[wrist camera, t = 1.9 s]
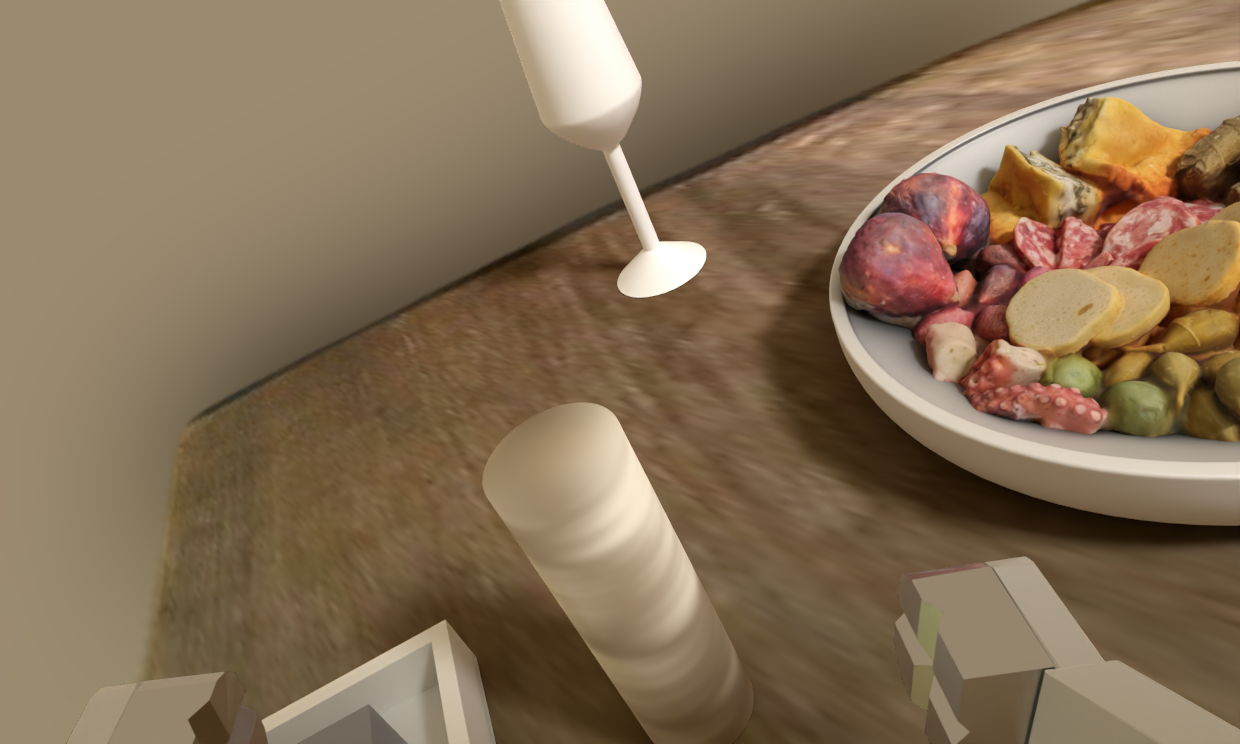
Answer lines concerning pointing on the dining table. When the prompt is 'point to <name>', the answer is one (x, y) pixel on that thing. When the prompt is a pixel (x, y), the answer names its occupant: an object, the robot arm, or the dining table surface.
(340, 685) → the tray
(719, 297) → the dining table surface
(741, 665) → the peg
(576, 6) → the champagne flute
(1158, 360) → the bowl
